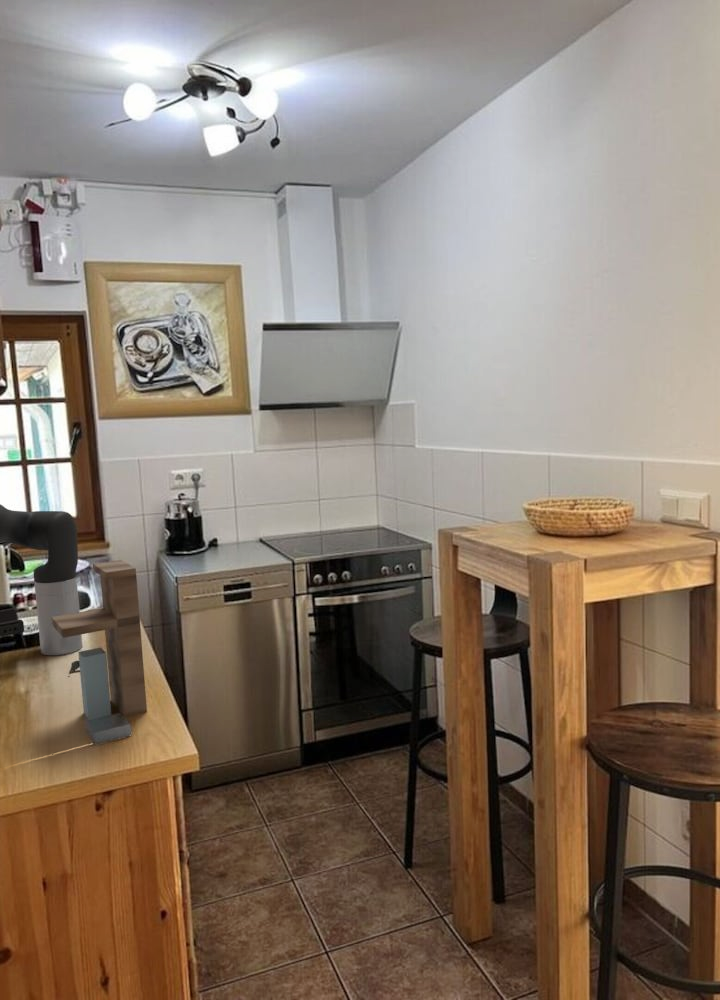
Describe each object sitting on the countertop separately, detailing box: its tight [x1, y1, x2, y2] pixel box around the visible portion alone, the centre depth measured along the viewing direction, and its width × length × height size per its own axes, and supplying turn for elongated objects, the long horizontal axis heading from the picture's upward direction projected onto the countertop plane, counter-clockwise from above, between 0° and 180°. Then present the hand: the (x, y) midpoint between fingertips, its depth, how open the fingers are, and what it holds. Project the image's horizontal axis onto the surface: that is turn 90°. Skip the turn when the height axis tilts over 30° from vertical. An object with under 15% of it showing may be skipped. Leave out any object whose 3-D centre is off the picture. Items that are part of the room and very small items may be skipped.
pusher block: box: [77, 647, 112, 721], centre depth 135 cm, size 4×4×12 cm
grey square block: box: [85, 712, 132, 746], centre depth 127 cm, size 6×6×2 cm
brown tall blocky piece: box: [51, 559, 148, 718], centre depth 135 cm, size 10×13×27 cm
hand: (19, 619), depth 130 cm, fingers open, 8 cm apart
